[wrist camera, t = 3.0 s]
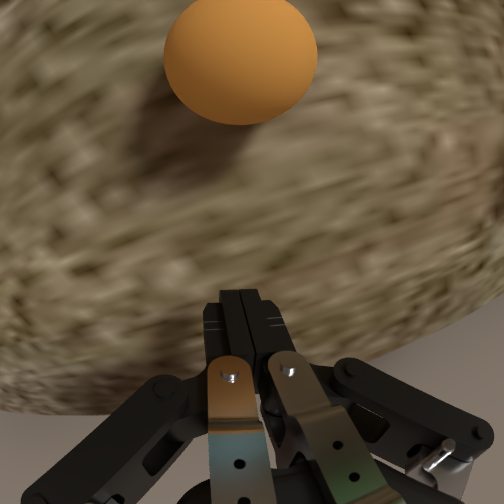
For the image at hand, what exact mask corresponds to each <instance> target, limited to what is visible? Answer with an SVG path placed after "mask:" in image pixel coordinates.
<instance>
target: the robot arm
mask: <svg viewBox="0 0 504 504" xmlns="http://www.w3.org/2000/svg"><path fill="white" fill-rule="evenodd" d="M203 324H204V344H205V354H206V364H207V365H206V368H205V369H204V370H203V371H202V372H201V373H200V374H199V375H197V376H195V377H193V378H190V379H187V380H184V381H182V380H180V379H179V378H177V377H175V376H172V375H158V376H155V377H153V378H151V379H149V380H148V381H147V382H146V383H145V384H144V385H143V386H142V387H140V388H139V389H138V390H137V391H136V392H135V393H134V394H133V395H132V396H131V397H130V398H129V399H128V400H126V401H125V402H124V403H123V404H122V405H121V406H120V407H119V408H118V409H117V410H116V411H114V412H113V413H112V414H111V415H110V416H109V417H108V418H107V419H106V420H105V421H103V422H102V423H101V424H100V425H99V426H98V427H97V428H96V429H95V430H93V432H91V433H90V434H89V435H88V436H87V437H86V438H85V439H84V440H82V441H81V442H80V443H79V444H78V445H77V446H76V447H75V448H73V449H72V450H71V451H70V452H69V453H68V454H67V455H65V456H64V457H63V458H62V459H61V460H60V461H59V462H57V463H56V464H55V465H54V466H53V467H52V468H51V469H49V471H47V472H46V473H45V474H44V475H42V476H41V477H40V478H39V479H38V480H37V481H36V482H34V483H33V484H32V485H31V486H30V487H28V488H27V489H26V490H25V491H24V493H23V494H22V497H21V504H136V503H137V502H138V501H139V500H140V499H141V498H142V497H143V496H144V495H145V494H146V493H147V492H148V491H149V490H150V488H151V487H152V486H153V485H154V484H155V483H156V482H157V481H158V480H159V479H160V477H161V476H162V475H163V474H164V473H165V472H166V471H167V470H168V468H169V467H170V466H171V465H172V464H173V463H174V462H175V460H176V459H177V458H178V457H179V456H180V455H181V453H182V452H183V451H184V450H185V449H186V448H187V446H188V445H189V444H190V443H191V441H192V440H193V438H195V437H198V436H201V435H204V434H207V433H208V441H209V466H210V479H208V480H206V481H203V482H201V483H199V484H198V485H196V486H194V487H193V488H191V489H190V490H189V491H187V492H186V493H185V494H184V495H183V496H182V497H181V499H180V500H179V501H178V502H177V504H464V502H462V501H461V498H462V496H463V493H464V490H465V487H466V484H467V481H468V478H469V475H470V472H471V469H472V465H473V462H474V460H475V459H476V458H478V457H479V456H480V455H481V454H482V453H483V452H485V451H486V450H487V449H488V448H490V446H491V445H492V444H493V441H494V432H493V429H492V427H491V426H490V424H489V423H488V422H486V421H485V420H483V419H481V418H479V417H476V416H474V415H472V414H469V413H467V412H465V411H463V410H461V409H459V408H456V407H454V406H452V405H450V404H448V403H445V402H443V401H441V400H439V399H437V398H435V397H433V396H431V395H429V394H426V393H424V392H423V391H420V390H418V389H416V388H414V387H412V386H410V385H408V384H406V383H404V382H402V381H400V380H398V379H396V378H394V377H392V376H390V375H388V374H386V373H384V372H382V371H380V370H378V369H376V368H374V367H373V366H371V365H369V364H367V363H365V362H363V361H361V360H359V359H356V358H343V359H341V360H339V361H337V362H336V364H335V365H334V367H328V366H319V365H314V364H310V363H308V361H307V359H306V358H305V357H304V356H302V355H301V354H299V353H297V352H296V350H295V347H294V345H293V342H292V340H291V338H290V335H289V333H288V330H287V328H286V325H285V323H284V321H283V318H282V316H281V313H280V311H279V308H278V307H277V306H276V305H275V304H274V303H273V302H272V301H270V300H262V301H261V298H260V296H259V293H258V290H257V289H239V290H220V292H219V303H207V305H206V307H205V309H204V311H203ZM255 394H259V395H260V399H261V405H260V412H261V415H262V417H263V420H264V423H265V426H266V429H267V432H268V434H269V437H270V440H271V443H272V445H273V448H274V451H275V457H276V466H277V469H272V468H271V467H270V461H269V456H268V450H267V444H266V438H265V432H264V427H263V423H262V422H261V421H259V417H258V411H257V404H256V398H255ZM357 404H358V405H357ZM359 405H360V406H359ZM361 406H362V407H361ZM363 407H364V408H363ZM365 408H366V409H365ZM367 409H368V410H370V411H371V412H370V411H368V410H367ZM372 412H373V413H372ZM374 413H375V414H374ZM376 414H377V415H376ZM378 415H379V416H378ZM380 416H381V417H380ZM382 417H383V418H382ZM370 453H372V454H374V455H376V456H378V457H381V458H382V459H384V460H386V461H388V462H390V463H392V464H394V465H397V466H399V467H401V468H403V469H405V474H403V473H401V472H399V471H397V470H395V469H393V468H391V467H390V466H388V465H386V464H384V463H382V462H380V461H378V460H376V459H374V458H373V457H372V455H371V454H370Z"/></svg>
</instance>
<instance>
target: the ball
mask: <svg viewBox="0 0 504 504" xmlns="http://www.w3.org/2000/svg"><path fill="white" fill-rule="evenodd" d="M163 58H164V68H165V72H166V76H167V79H168V82H169V84H170V86H171V88H172V90H173V91H174V93H175V94H176V96H177V97H178V98H179V99H180V101H181V102H182V103H184V104H185V105H186V106H187V107H188V108H189V109H191V110H192V111H193V112H195V113H196V114H198V115H200V116H202V117H204V118H206V119H209V120H211V121H215V122H218V123H222V124H229V125H250V124H256V123H261V122H264V121H267V120H270V119H273V118H275V117H277V116H279V115H281V114H282V113H284V112H285V111H287V110H289V109H290V108H291V107H292V106H294V105H295V104H296V103H297V102H298V101H299V100H300V99H301V98H302V97H303V95H304V94H305V92H306V91H307V90H308V88H309V86H310V84H311V82H312V80H313V77H314V74H315V71H316V66H317V46H316V41H315V38H314V35H313V32H312V30H311V28H310V26H309V24H308V23H307V21H306V20H305V18H304V17H303V16H302V15H301V13H300V12H299V11H298V10H297V9H296V8H294V7H293V6H292V5H291V4H290V3H288V2H286V1H285V0H197V1H196V2H194V3H193V4H192V5H190V6H189V7H188V8H187V9H186V10H185V11H183V12H182V13H181V15H180V16H179V17H178V18H177V20H176V21H175V22H174V24H173V26H172V28H171V29H170V31H169V34H168V36H167V39H166V42H165V47H164V57H163Z"/></svg>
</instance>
